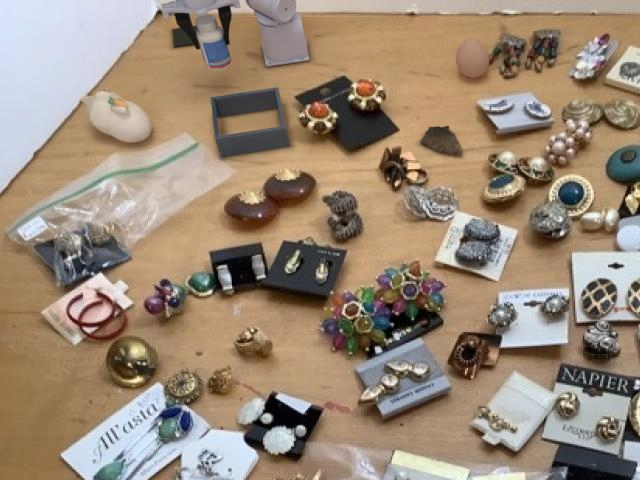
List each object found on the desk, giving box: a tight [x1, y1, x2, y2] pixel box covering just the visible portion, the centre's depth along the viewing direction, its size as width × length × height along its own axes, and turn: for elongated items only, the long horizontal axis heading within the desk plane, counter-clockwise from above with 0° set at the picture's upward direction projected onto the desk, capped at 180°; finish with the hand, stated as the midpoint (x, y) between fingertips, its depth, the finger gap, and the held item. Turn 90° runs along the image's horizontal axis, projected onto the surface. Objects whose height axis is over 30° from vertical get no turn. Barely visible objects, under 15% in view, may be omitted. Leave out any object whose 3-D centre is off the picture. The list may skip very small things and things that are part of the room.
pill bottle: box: [194, 13, 232, 71], centre depth 163 cm, size 6×5×10 cm
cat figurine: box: [80, 87, 153, 144], centre depth 160 cm, size 10×8×15 cm
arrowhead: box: [419, 125, 464, 155], centre depth 162 cm, size 7×10×1 cm
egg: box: [455, 37, 490, 79], centre depth 173 cm, size 7×7×8 cm
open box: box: [209, 86, 291, 159], centre depth 162 cm, size 14×14×4 cm
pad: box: [171, 25, 197, 48], centre depth 183 cm, size 8×7×1 cm
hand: (212, 44), depth 164 cm, fingers closed on pill bottle, 5 cm apart
